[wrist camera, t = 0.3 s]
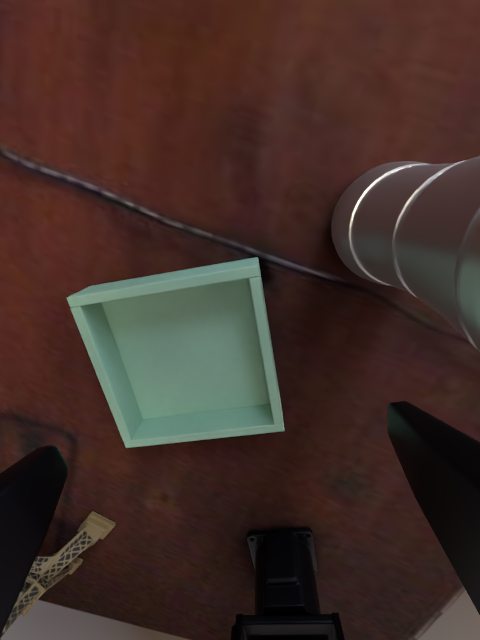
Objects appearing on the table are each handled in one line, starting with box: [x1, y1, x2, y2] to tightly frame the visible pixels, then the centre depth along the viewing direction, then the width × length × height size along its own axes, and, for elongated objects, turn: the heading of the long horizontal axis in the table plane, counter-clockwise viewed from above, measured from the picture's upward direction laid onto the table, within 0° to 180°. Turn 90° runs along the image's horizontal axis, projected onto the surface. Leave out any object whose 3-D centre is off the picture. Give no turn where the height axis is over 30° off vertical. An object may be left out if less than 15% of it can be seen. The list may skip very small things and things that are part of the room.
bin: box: [67, 257, 284, 448], centre depth 22 cm, size 12×12×3 cm
